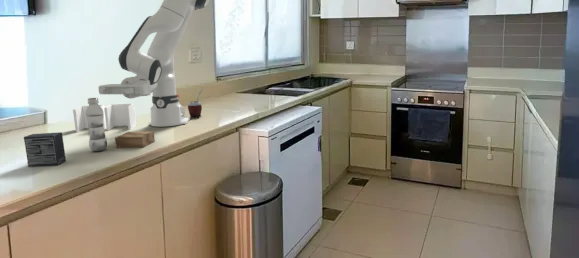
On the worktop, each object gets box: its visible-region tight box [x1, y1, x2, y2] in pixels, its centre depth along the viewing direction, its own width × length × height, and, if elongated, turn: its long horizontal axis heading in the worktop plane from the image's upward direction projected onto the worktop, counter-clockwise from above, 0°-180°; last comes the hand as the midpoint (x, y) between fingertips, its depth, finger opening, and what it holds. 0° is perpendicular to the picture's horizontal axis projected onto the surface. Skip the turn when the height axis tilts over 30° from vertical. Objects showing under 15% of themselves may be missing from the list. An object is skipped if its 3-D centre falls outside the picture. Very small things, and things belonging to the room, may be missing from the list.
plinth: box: [114, 130, 156, 149], centre depth 189 cm, size 11×11×4 cm
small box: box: [23, 131, 67, 168], centre depth 164 cm, size 11×6×10 cm, turn 92°
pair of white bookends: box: [72, 102, 137, 133], centre depth 226 cm, size 25×11×11 cm, turn 94°
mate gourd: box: [187, 88, 205, 119], centre depth 248 cm, size 8×8×15 cm
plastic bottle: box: [85, 97, 108, 152], centre depth 179 cm, size 6×7×20 cm
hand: (113, 91), depth 188 cm, fingers open, 8 cm apart
